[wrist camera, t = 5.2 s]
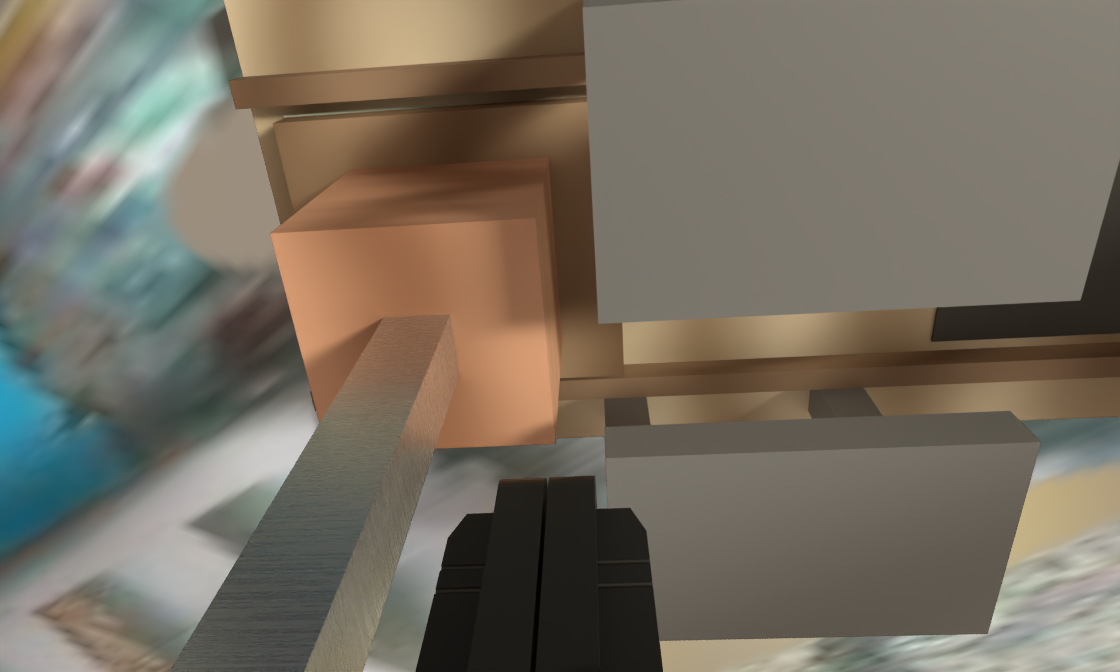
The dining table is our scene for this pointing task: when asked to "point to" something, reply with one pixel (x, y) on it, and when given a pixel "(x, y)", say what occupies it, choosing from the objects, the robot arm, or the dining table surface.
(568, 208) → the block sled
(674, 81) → the tunnel track
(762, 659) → the dining table surface
